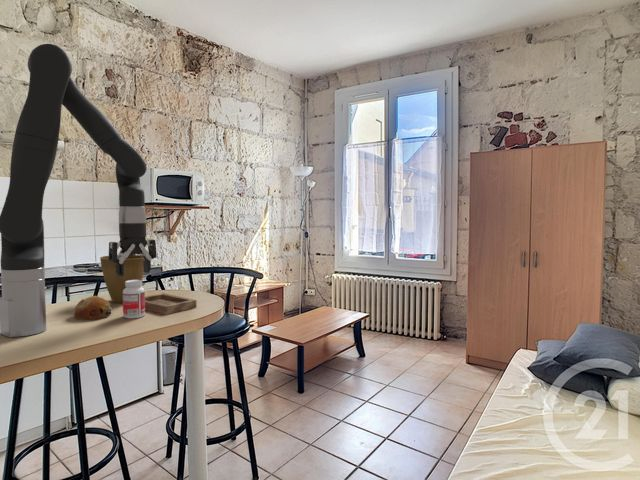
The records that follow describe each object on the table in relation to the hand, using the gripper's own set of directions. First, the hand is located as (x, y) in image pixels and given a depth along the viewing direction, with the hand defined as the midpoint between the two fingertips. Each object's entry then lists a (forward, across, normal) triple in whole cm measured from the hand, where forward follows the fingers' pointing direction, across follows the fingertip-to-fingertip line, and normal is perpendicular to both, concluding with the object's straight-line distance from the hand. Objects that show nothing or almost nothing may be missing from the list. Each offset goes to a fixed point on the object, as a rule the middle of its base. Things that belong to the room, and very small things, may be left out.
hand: (134, 274), depth 123 cm
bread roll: (+13, -7, +10) cm, 18 cm away
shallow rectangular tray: (+13, +13, +3) cm, 19 cm away
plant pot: (+13, +10, +22) cm, 28 cm away
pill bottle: (+13, 0, 0) cm, 13 cm away
